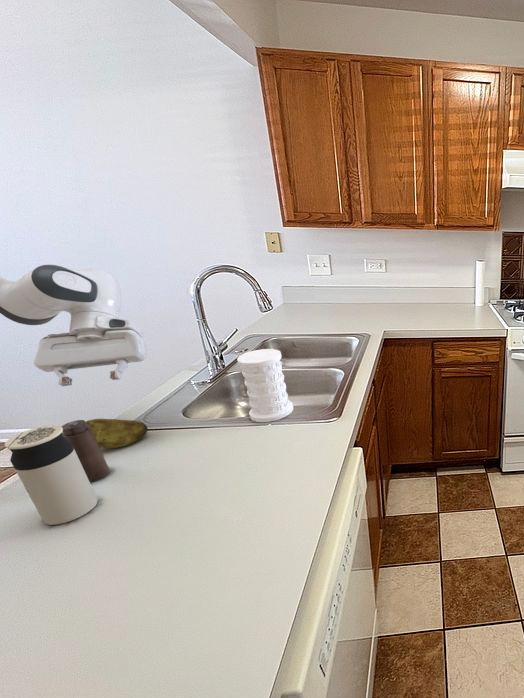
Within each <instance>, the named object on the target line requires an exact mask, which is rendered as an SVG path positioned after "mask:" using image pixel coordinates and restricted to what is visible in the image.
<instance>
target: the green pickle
mask: <svg viewBox="0 0 524 698" xmlns="http://www.w3.org/2000/svg"><path fill="white" fill-rule="evenodd" d="M85 422H86V425H89V426H91V428H92V430H93V433H94V435H95V437H96V440H97V442H98V444H99V447H100V448H102V449H103V448H104V449H118V448H122V447H126V446H129V445H132V444H133V443H136V442H137V441H139V440H141V439H142V438H144V437H145V436H146V434H147V433H148V430H149V429H148V426H147V425H146V423H145V422H143V421H140V420H131V419H116V418H93V419H89V420H85Z"/></svg>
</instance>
